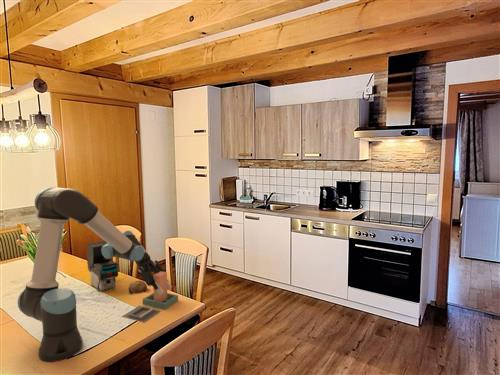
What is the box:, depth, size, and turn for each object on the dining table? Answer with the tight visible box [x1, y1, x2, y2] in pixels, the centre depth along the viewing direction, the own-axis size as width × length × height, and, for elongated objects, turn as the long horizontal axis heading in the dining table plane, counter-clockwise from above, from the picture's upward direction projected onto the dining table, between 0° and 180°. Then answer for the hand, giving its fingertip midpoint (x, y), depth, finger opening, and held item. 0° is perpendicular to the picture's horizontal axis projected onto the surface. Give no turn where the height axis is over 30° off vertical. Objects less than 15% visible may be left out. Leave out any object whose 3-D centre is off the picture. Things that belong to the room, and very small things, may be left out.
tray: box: [142, 292, 179, 311], centre depth 167 cm, size 11×14×4 cm
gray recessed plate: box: [120, 305, 162, 324], centre depth 155 cm, size 12×14×3 cm
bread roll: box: [128, 279, 148, 295], centre depth 183 cm, size 10×10×8 cm
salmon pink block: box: [152, 271, 168, 302], centre depth 166 cm, size 6×4×14 cm, turn 157°
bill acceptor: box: [86, 240, 119, 292], centre depth 188 cm, size 10×23×25 cm, turn 44°
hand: (166, 291), depth 165 cm, fingers closed on salmon pink block, 6 cm apart
